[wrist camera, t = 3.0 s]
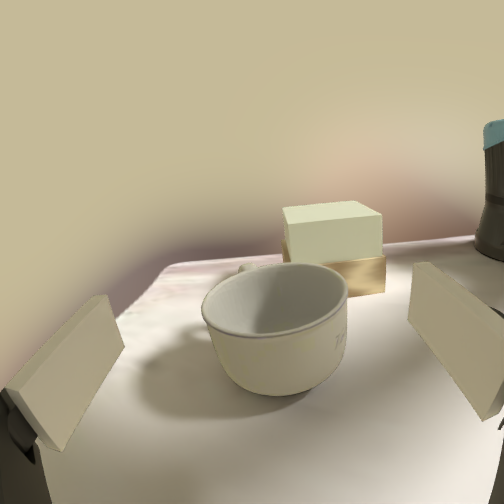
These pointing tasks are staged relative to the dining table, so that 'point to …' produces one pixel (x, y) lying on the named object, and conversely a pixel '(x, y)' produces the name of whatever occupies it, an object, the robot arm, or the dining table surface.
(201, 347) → the dining table surface
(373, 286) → the tower base
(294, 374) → the teacup
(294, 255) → the tower top
